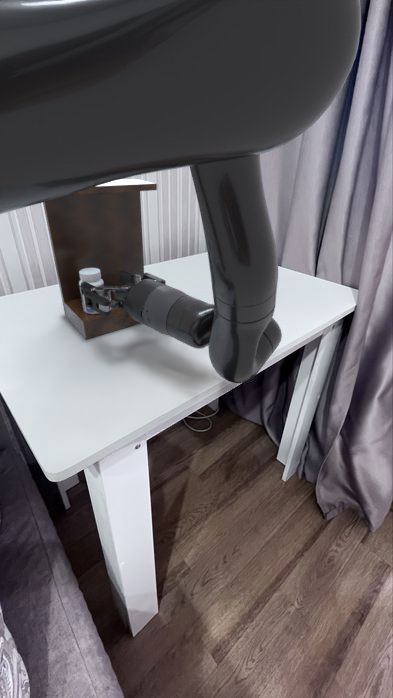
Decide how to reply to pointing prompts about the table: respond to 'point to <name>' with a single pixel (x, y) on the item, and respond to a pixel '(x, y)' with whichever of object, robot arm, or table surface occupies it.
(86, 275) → the pill bottle
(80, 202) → the shelf
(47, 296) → the table surface
